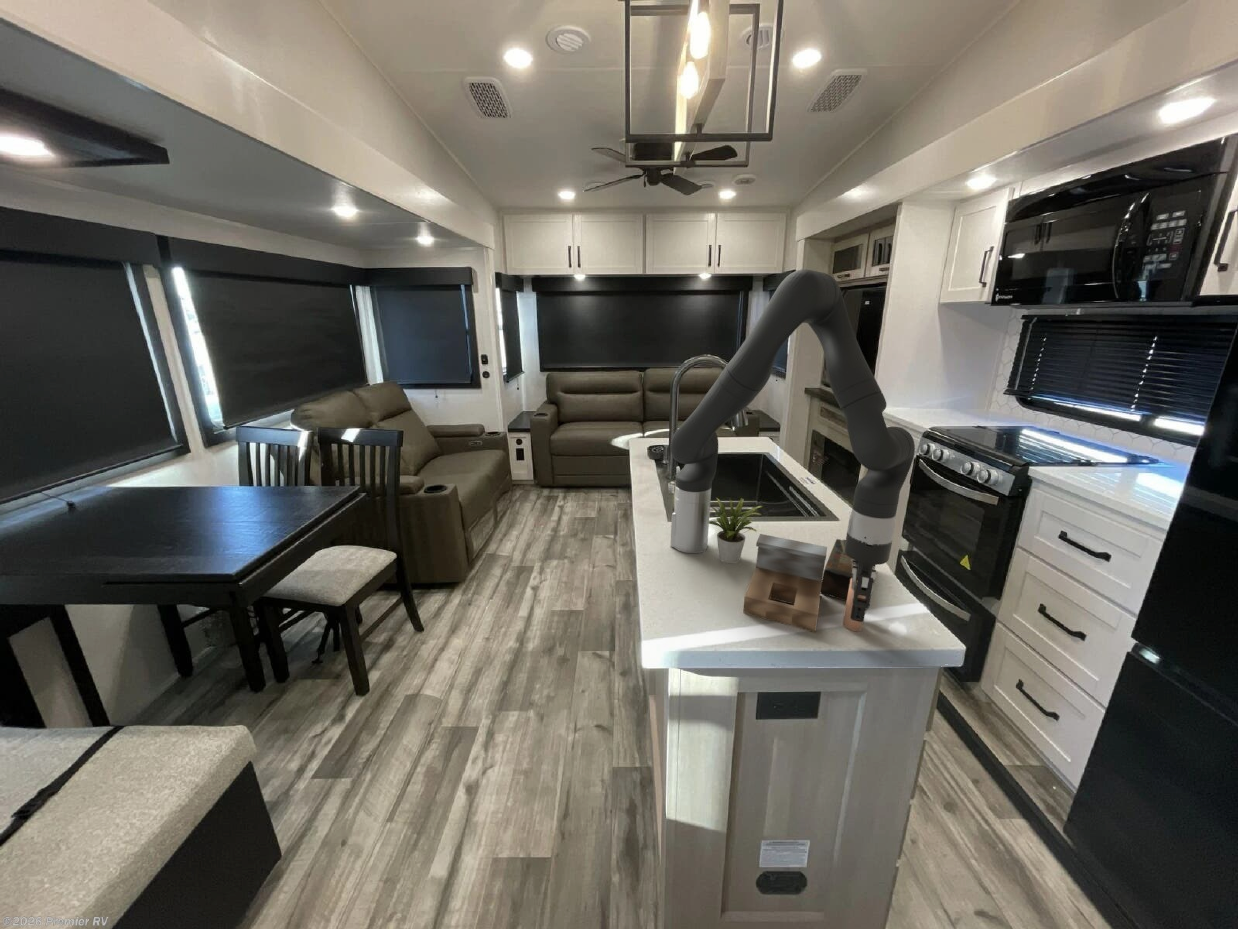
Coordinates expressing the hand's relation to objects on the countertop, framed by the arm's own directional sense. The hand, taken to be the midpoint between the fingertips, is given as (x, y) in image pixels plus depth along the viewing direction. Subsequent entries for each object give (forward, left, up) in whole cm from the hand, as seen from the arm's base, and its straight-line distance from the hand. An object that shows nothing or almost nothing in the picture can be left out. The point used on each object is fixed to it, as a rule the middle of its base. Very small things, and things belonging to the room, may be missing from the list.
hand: (856, 607), depth 89 cm
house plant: (-28, +15, -4) cm, 32 cm away
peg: (0, 0, -4) cm, 4 cm away
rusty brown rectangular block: (-2, +18, -5) cm, 19 cm away
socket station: (-14, +2, -4) cm, 14 cm away
